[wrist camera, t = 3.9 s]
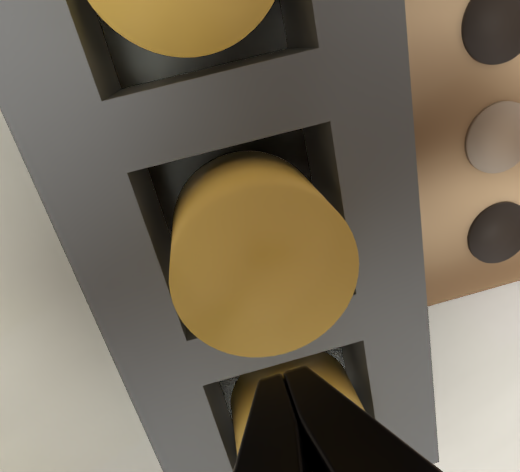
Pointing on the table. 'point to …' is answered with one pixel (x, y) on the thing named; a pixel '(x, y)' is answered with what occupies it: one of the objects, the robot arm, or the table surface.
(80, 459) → the table surface
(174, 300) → the button
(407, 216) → the board
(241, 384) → the button
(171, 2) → the button
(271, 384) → the robot arm
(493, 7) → the card
